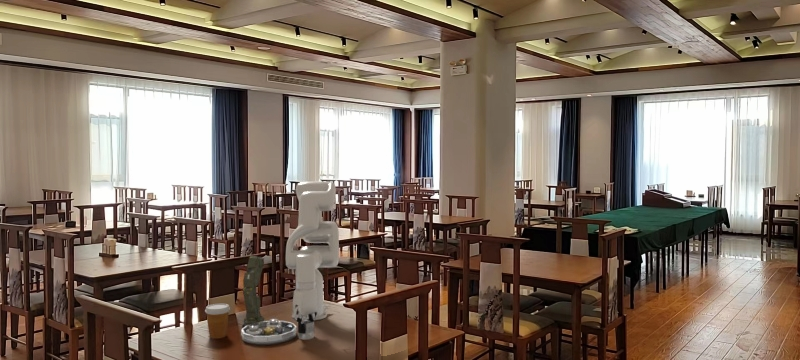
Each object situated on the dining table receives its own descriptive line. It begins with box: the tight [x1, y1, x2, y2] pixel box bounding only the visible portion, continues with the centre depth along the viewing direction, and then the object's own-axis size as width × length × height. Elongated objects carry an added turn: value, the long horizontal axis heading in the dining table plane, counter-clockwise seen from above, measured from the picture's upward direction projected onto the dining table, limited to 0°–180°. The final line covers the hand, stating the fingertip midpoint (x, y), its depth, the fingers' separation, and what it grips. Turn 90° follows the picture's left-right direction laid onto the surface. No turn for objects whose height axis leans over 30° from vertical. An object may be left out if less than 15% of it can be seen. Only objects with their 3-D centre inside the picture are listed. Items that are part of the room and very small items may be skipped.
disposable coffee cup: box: [204, 303, 231, 339], centre depth 233 cm, size 10×10×12 cm
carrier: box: [240, 318, 298, 346], centre depth 232 cm, size 21×21×5 cm
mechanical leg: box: [241, 255, 265, 329], centre depth 249 cm, size 14×7×30 cm, turn 168°
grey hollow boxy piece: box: [297, 320, 315, 341], centre depth 231 cm, size 6×6×6 cm
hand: (306, 330), depth 231 cm, fingers closed on grey hollow boxy piece, 4 cm apart
